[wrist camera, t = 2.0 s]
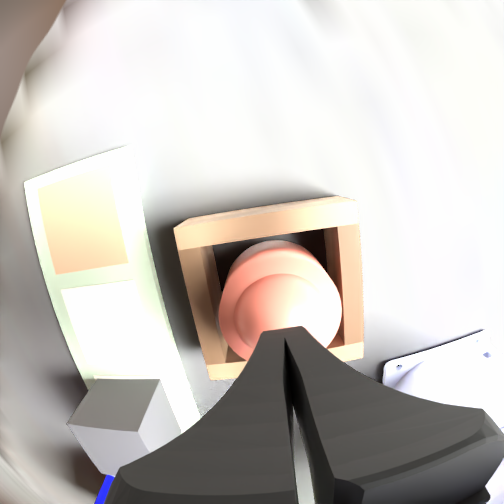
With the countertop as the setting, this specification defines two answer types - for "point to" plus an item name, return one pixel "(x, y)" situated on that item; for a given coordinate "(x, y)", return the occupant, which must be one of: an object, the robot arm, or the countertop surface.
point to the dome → (277, 296)
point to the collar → (263, 225)
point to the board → (106, 275)
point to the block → (123, 421)
